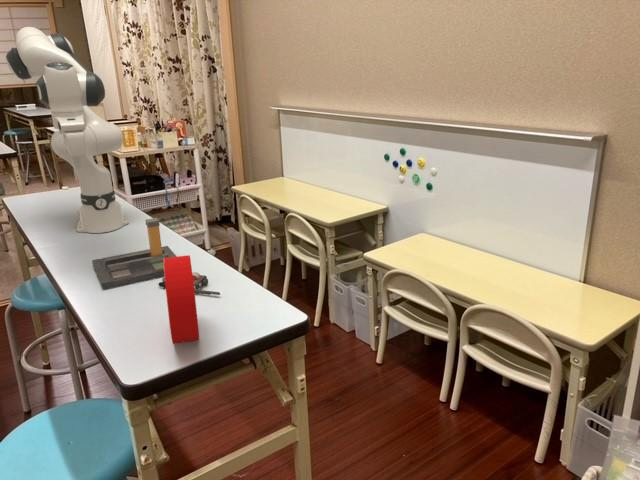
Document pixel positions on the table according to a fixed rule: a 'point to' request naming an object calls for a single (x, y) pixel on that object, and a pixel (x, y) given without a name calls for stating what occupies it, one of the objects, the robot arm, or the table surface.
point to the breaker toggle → (154, 236)
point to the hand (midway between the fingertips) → (77, 167)
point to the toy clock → (181, 299)
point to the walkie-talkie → (196, 284)
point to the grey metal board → (130, 268)
